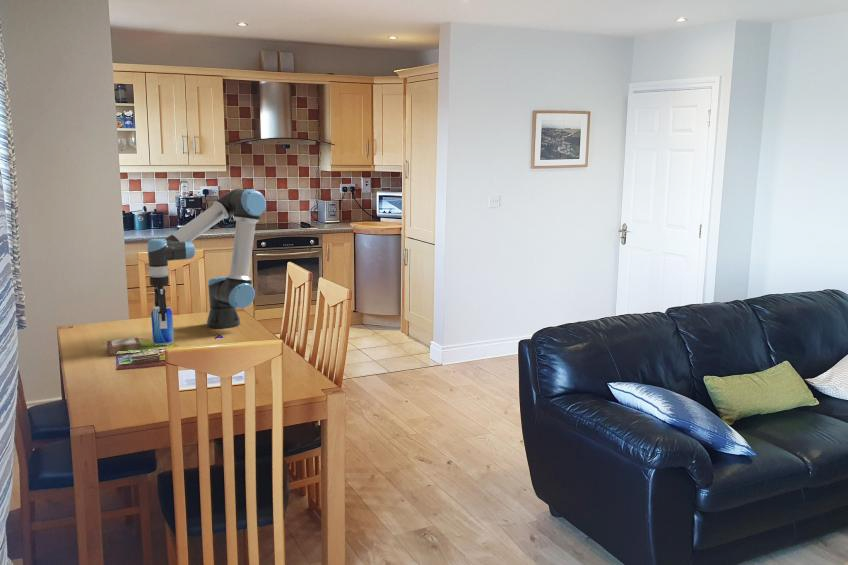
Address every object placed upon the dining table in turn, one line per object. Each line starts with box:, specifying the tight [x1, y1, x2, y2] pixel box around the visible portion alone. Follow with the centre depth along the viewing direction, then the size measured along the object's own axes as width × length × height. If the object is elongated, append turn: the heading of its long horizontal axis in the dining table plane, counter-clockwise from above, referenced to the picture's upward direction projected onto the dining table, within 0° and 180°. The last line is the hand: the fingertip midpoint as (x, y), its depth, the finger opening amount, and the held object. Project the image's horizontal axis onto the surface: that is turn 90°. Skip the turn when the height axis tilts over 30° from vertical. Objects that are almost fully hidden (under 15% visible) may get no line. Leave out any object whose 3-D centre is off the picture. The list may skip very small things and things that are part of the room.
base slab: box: [106, 337, 142, 357], centre depth 298 cm, size 12×12×4 cm
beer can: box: [150, 305, 175, 346], centre depth 307 cm, size 8×8×16 cm
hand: (161, 325), depth 307 cm, fingers open, 13 cm apart
